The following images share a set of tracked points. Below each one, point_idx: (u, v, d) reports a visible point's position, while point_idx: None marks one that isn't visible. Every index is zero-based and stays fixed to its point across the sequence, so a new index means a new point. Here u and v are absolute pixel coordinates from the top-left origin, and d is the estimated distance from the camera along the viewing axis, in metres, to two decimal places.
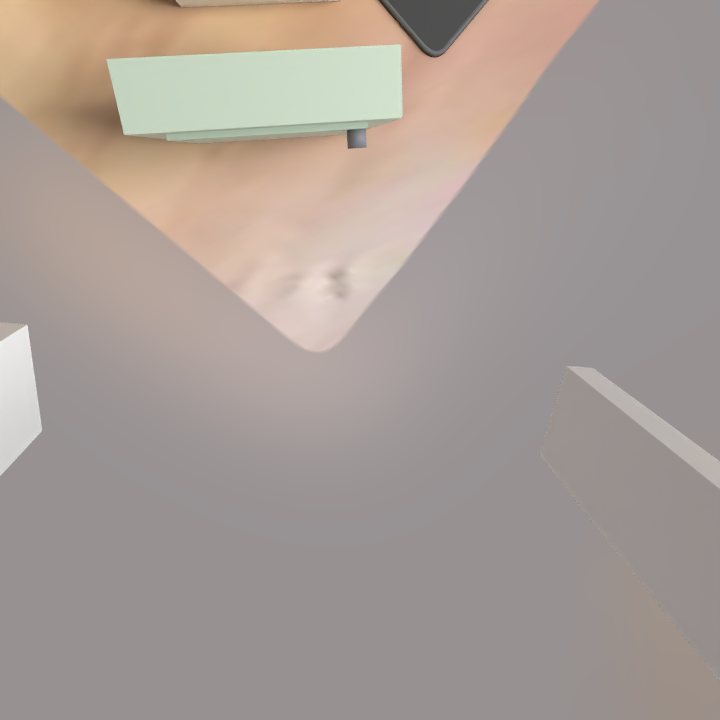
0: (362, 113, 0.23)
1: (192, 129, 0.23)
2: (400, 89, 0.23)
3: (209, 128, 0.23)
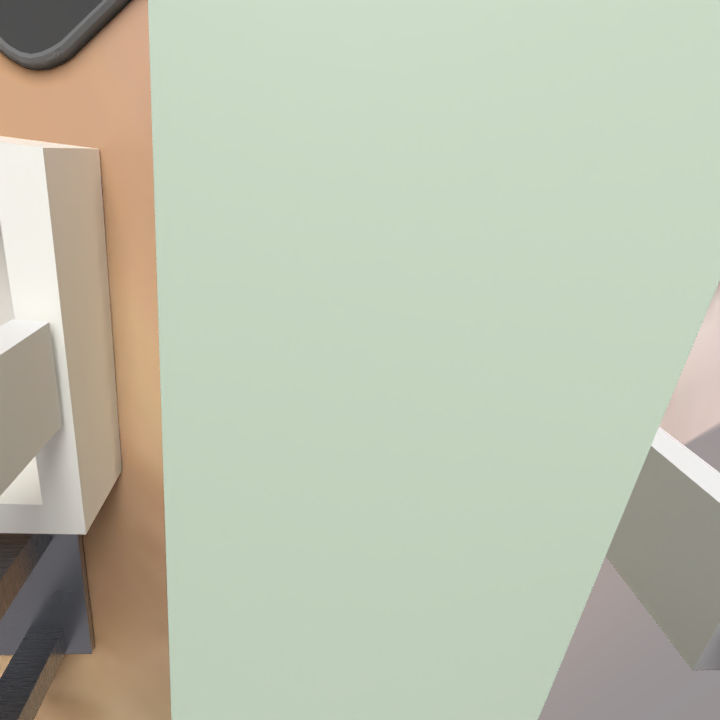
0: (635, 378, 0.03)
1: None
2: None
3: None
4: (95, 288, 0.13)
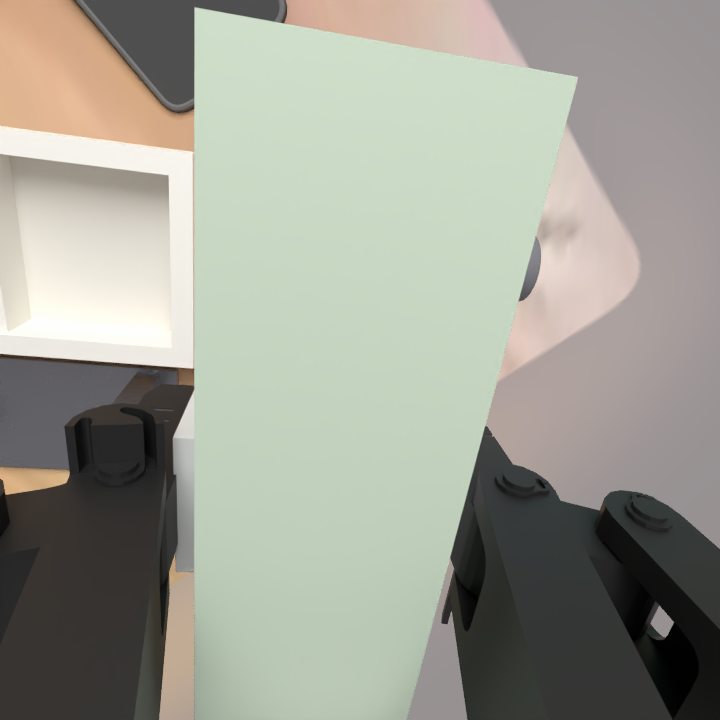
0: (489, 301, 0.05)
1: None
2: (436, 61, 0.04)
3: None
4: None
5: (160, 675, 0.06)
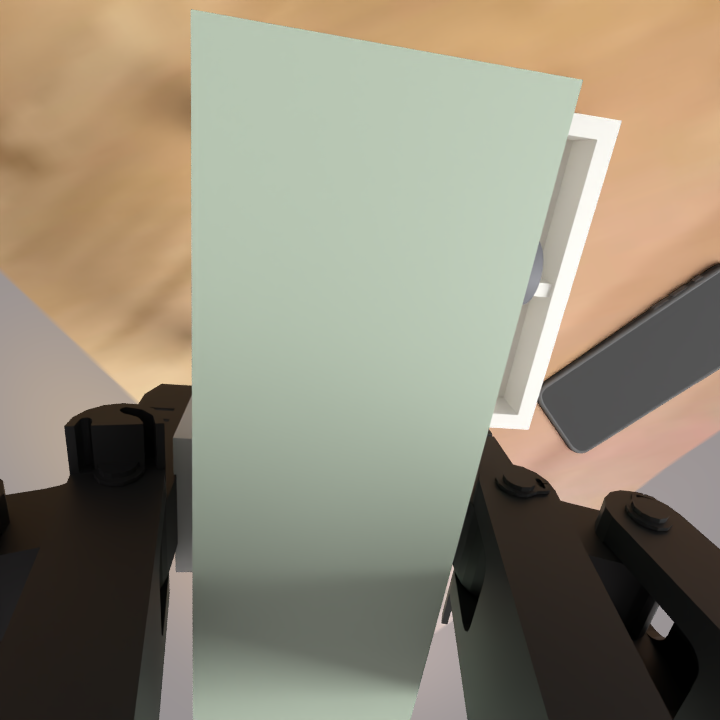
0: (492, 307, 0.05)
1: None
2: (438, 64, 0.04)
3: None
4: None
5: (160, 675, 0.06)
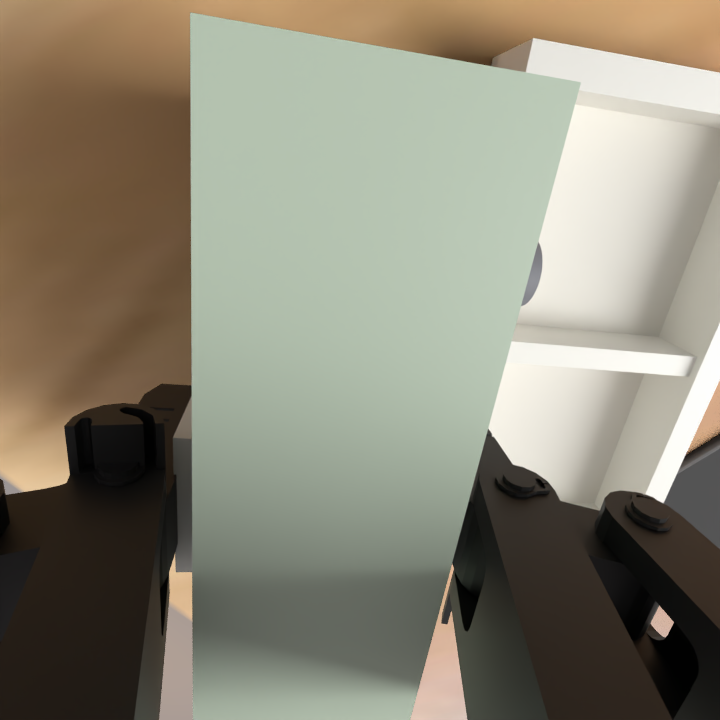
0: (491, 309, 0.05)
1: None
2: (437, 66, 0.04)
3: None
4: None
5: (160, 675, 0.06)
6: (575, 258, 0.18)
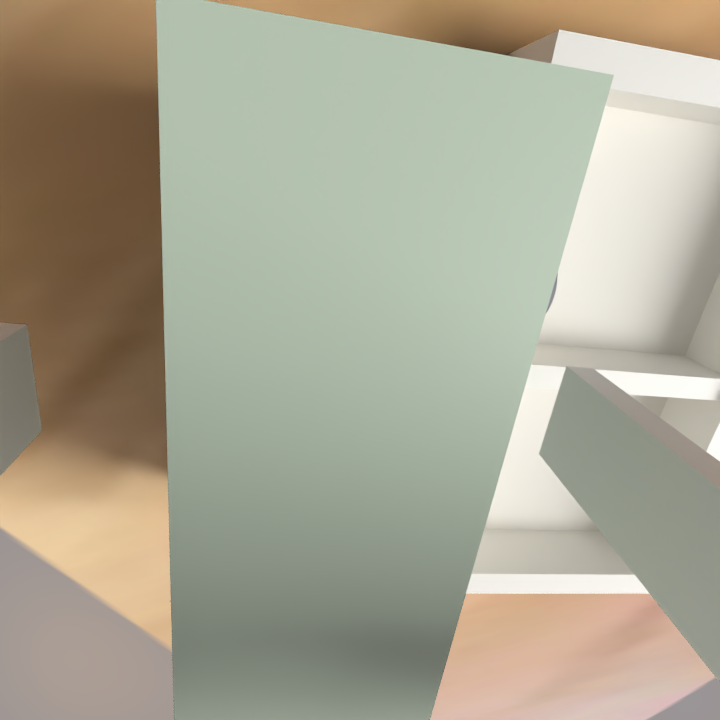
0: (507, 333, 0.04)
1: None
2: (447, 56, 0.03)
3: None
4: None
5: None
6: (597, 272, 0.16)
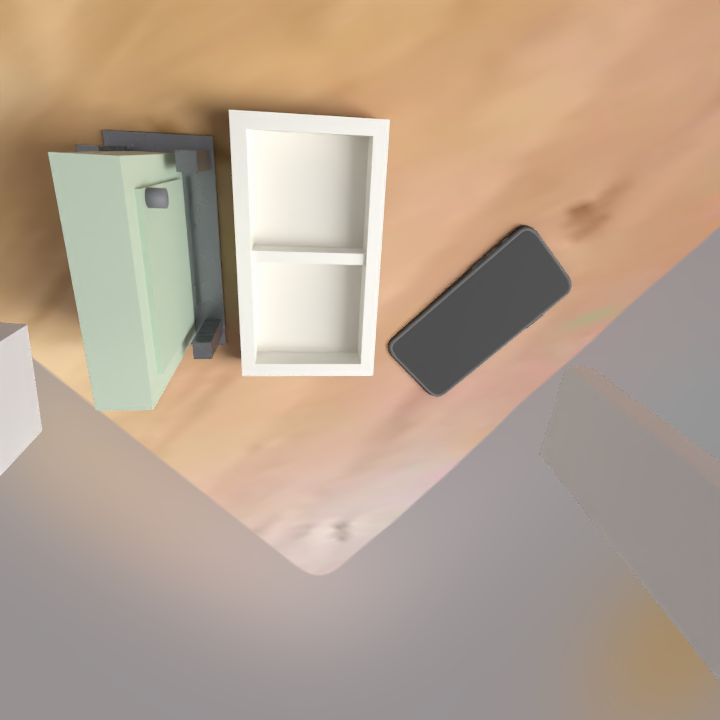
0: (119, 200, 0.22)
1: (145, 358, 0.26)
2: (91, 155, 0.22)
3: (143, 344, 0.25)
4: None
5: None
6: (302, 208, 0.35)
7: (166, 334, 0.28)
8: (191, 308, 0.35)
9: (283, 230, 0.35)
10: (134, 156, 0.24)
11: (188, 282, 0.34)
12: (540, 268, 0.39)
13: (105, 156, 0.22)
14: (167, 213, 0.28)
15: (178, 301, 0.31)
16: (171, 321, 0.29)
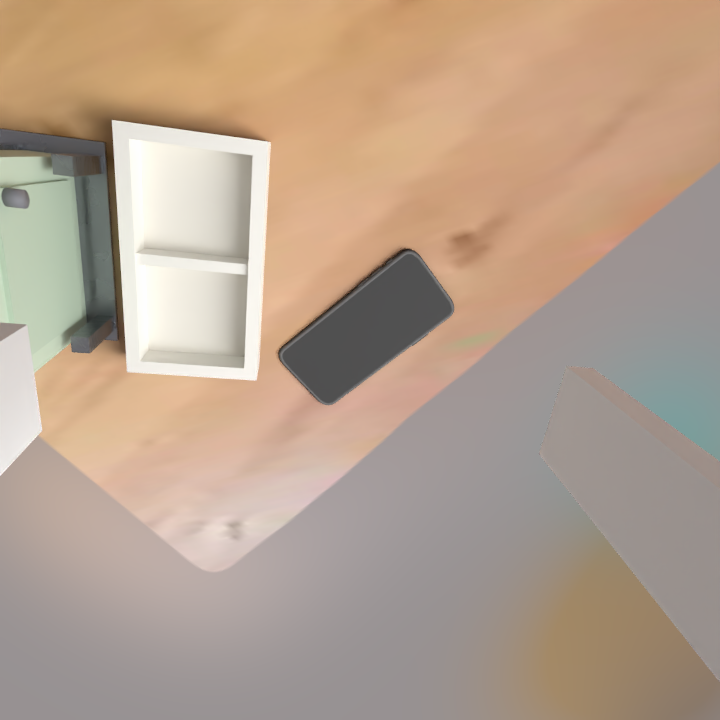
0: None
1: None
2: None
3: None
4: None
5: None
6: (191, 217, 0.37)
7: (30, 326, 0.30)
8: (77, 303, 0.36)
9: (173, 236, 0.37)
10: None
11: (74, 278, 0.36)
12: (423, 290, 0.41)
13: None
14: (40, 212, 0.30)
15: (54, 296, 0.33)
16: (40, 314, 0.31)
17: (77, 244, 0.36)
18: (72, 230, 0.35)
